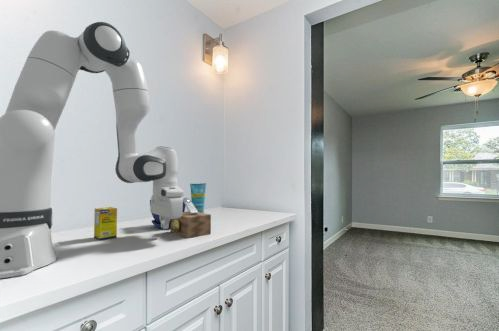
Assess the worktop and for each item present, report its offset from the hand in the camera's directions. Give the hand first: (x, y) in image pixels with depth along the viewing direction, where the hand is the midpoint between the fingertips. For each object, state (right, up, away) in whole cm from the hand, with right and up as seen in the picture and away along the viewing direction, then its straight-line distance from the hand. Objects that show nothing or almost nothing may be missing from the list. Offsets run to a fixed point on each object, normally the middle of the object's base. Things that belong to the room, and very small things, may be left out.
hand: (164, 228), depth 94 cm
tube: (+8, -4, +22) cm, 24 cm away
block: (+8, -4, +7) cm, 11 cm away
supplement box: (-22, -4, -1) cm, 22 cm away
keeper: (+7, +7, +8) cm, 13 cm away
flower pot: (-6, -4, +20) cm, 22 cm away
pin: (+8, -2, +7) cm, 11 cm away
